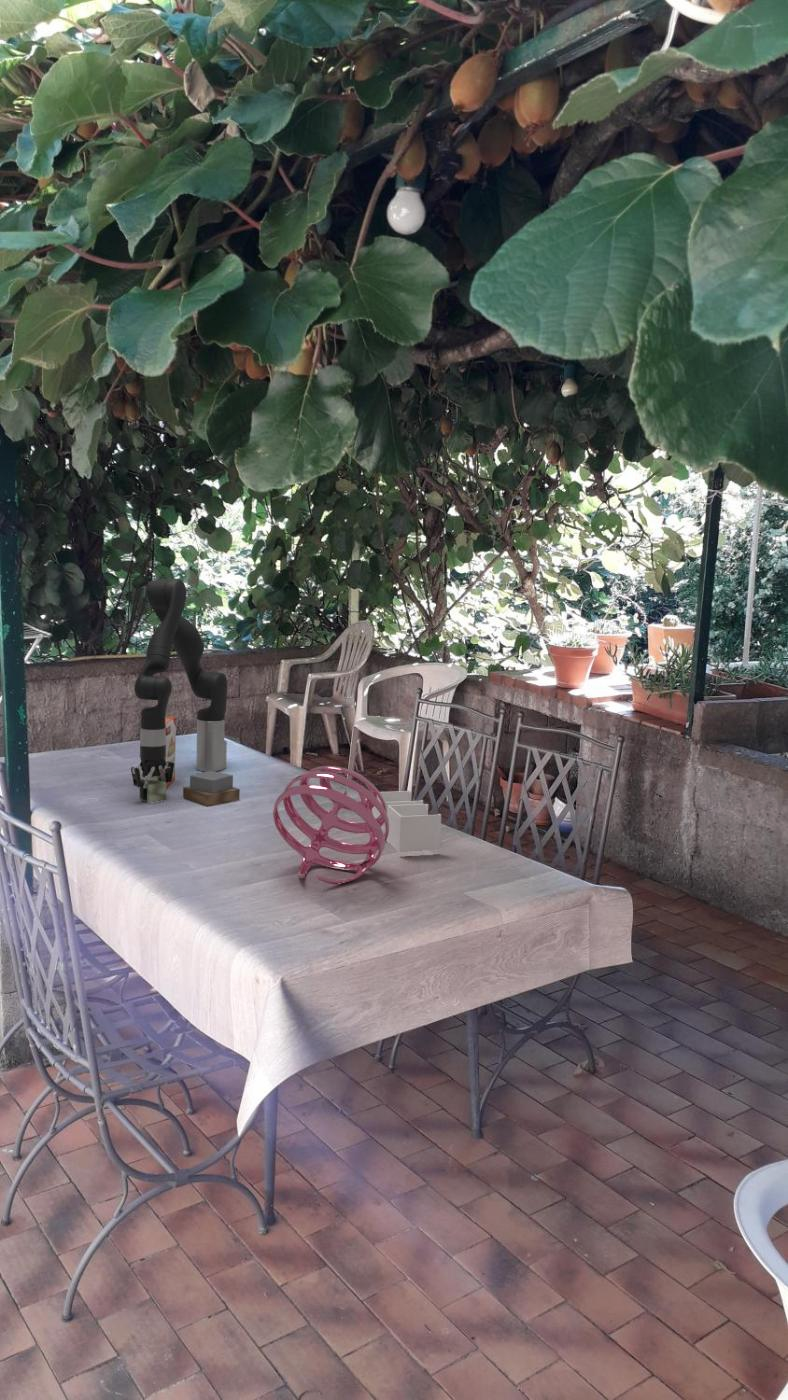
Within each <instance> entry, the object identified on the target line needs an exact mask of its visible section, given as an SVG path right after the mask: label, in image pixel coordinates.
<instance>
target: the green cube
mask: <svg viewBox="0 0 788 1400" xmlns="http://www.w3.org/2000/svg"><path fill="white" fill-rule="evenodd" d="M140 799H141V798H140V797H139V800H140ZM161 800H166V801H167V788H166V782H162V781H160V780H157V779H153V780H150V781H149V782H148V784H147V800H145V801H147V802H146V803H148V802H150V803H149V804H152V803H151V802H155V803H157V802H156V801H161ZM145 801H144V802H145ZM161 802H162V801H161Z"/></svg>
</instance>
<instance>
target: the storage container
mask: <svg viewBox="0 0 788 1400" xmlns="http://www.w3.org/2000/svg"><path fill="white" fill-rule="evenodd" d="M379 792H380V794H381V795H382V797H383V799H384V801H385V804H386V808H387V816H388V819H389V835H388V838H387V840H386V841H387V842H388V843H390V844H391V845H392V846H393V847H394V848H395V849H396V850H397V851H398V852H408V851H410V852H411V851H422V850H434V849H440V847H441V845H440V844H441V828H442V827H441V826H442V814H441V813H438V814H429V804H428V803H424V800H423V799H420V800H412V793H413V792H412V791H411V790H400V791H397V790H396V791H379ZM377 799H378V800H379V802H380V799H379V798H378V796H377ZM380 803H381V802H380ZM372 813H373V816H374V818H375V819H376V818H378V817H379V816H380V812H379V811H378V810H377V808H376V807H375V806H374V807H373V808H372ZM381 829H382V831H383V834H384V833H385V830H386V827H385V823H384V824H383V825H382V826H381Z"/></svg>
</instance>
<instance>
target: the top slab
mask: <svg viewBox="0 0 788 1400" xmlns="http://www.w3.org/2000/svg"><path fill="white" fill-rule="evenodd" d="M189 786H190V789H193V790H198V791H203V792H207V793H212V794H214V793H217V792H221V791H224V790H228V789H231V788H233V787H234V775H233V774H228V773H224V772H220V771H202V772H201V773H195V774H192V775H189Z"/></svg>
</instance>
